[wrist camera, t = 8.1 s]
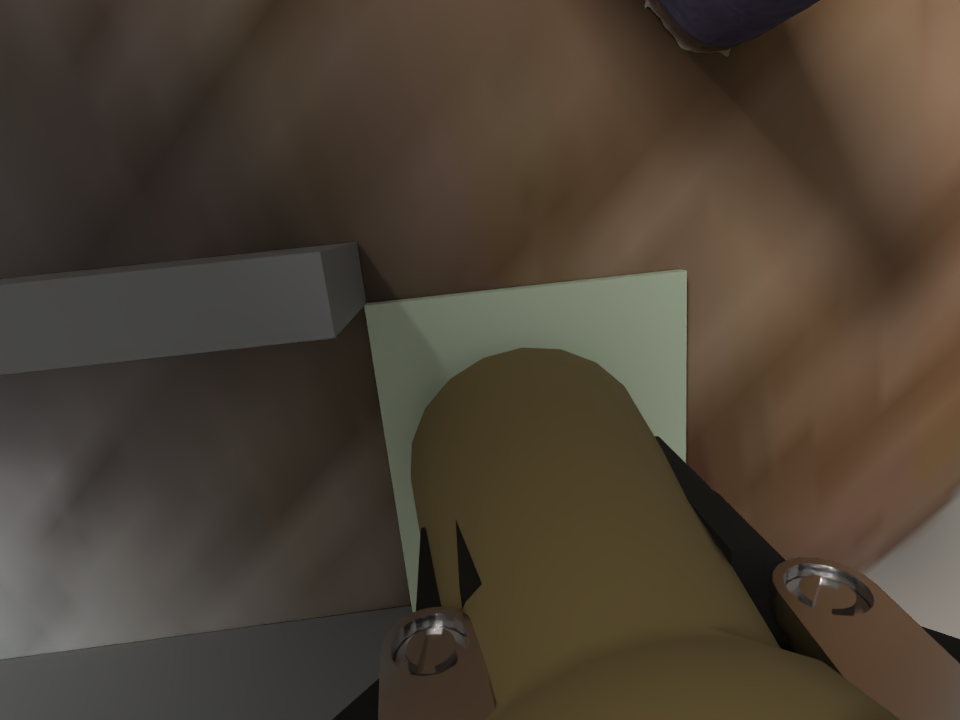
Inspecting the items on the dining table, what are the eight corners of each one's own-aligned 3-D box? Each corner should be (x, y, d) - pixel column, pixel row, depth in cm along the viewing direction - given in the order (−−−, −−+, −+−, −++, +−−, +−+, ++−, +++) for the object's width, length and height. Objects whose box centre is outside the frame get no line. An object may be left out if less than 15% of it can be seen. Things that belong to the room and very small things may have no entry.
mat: (366, 303, 13) (363, 305, 13) (679, 269, 14) (686, 271, 13) (422, 660, 16) (422, 671, 16) (679, 625, 16) (685, 634, 16)
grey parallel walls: (-251, 305, 12) (-571, 344, 8) (356, 242, 13) (319, 251, 9) (-60, 712, 15) (-228, 877, 12) (420, 646, 16) (413, 783, 12)
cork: (648, 551, 14) (1247, 1516, 4) (425, 580, 14) (380, 1715, 3) (646, 333, 13) (1714, 950, 2) (394, 361, 12) (118, 1240, 2)
